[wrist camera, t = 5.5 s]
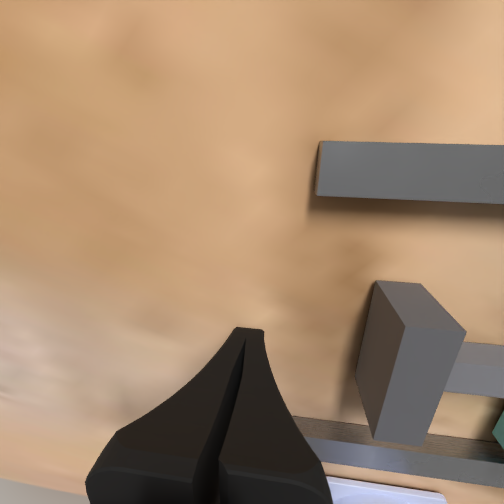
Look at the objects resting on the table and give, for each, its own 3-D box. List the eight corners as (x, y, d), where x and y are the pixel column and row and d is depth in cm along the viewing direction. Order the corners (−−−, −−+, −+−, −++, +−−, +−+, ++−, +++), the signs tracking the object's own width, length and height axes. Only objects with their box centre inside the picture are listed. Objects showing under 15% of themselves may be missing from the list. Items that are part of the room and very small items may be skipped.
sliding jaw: (530, 437, 15) (596, 517, 12) (346, 414, 16) (361, 482, 13) (656, 232, 11) (817, 271, 7) (389, 218, 12) (428, 246, 8)
